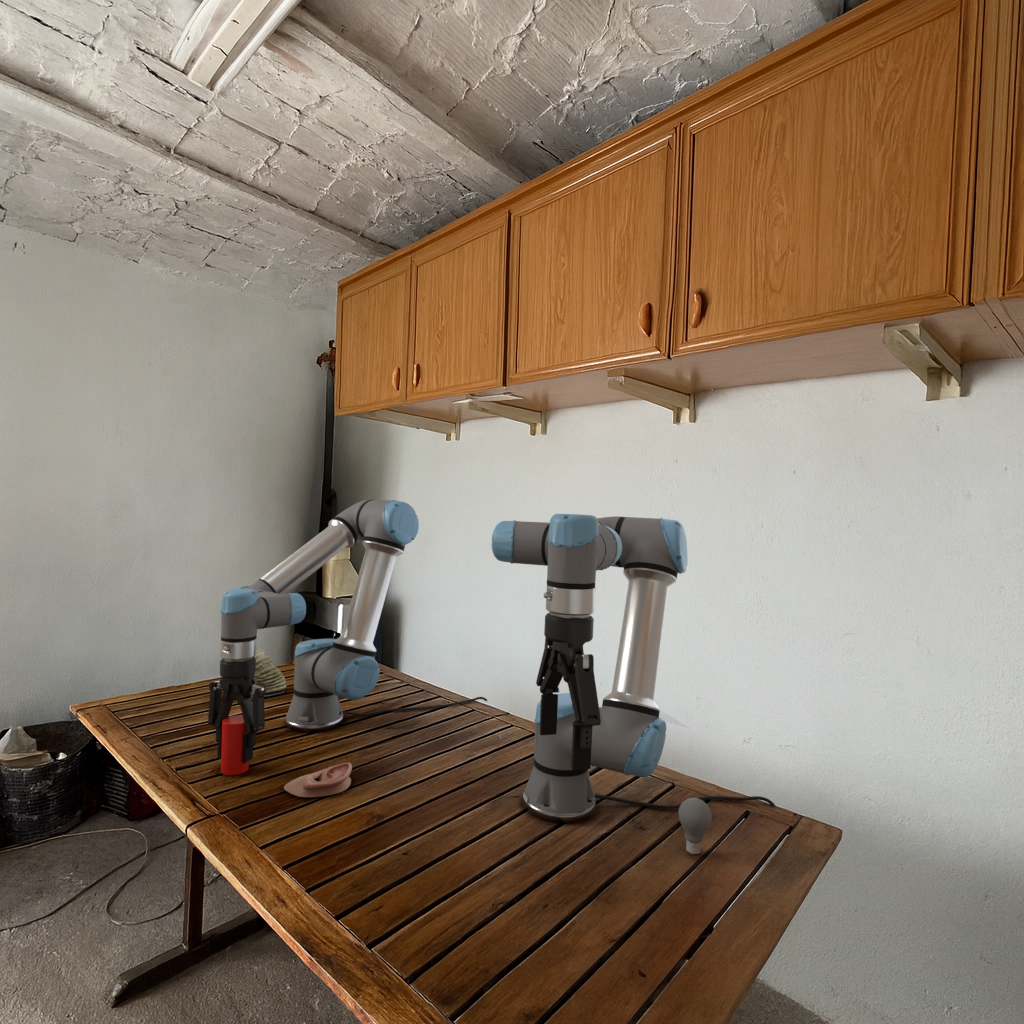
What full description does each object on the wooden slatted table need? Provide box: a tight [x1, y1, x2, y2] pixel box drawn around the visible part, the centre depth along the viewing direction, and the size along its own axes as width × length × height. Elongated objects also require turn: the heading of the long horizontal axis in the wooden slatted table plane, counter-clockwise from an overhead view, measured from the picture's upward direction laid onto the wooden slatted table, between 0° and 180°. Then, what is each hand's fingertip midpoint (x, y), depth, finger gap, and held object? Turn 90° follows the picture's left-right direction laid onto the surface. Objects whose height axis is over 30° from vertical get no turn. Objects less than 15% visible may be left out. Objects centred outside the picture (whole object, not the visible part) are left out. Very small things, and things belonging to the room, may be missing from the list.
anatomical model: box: [283, 762, 353, 798], centre depth 138 cm, size 13×4×12 cm
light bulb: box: [677, 797, 713, 855], centre depth 118 cm, size 6×6×10 cm
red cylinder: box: [220, 714, 250, 776], centre depth 145 cm, size 6×6×12 cm
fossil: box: [251, 647, 288, 698], centre depth 198 cm, size 9×18×15 cm, turn 132°
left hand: (235, 758), depth 145 cm, fingers closed on red cylinder, 6 cm apart
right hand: (563, 750), depth 98 cm, fingers open, 13 cm apart
